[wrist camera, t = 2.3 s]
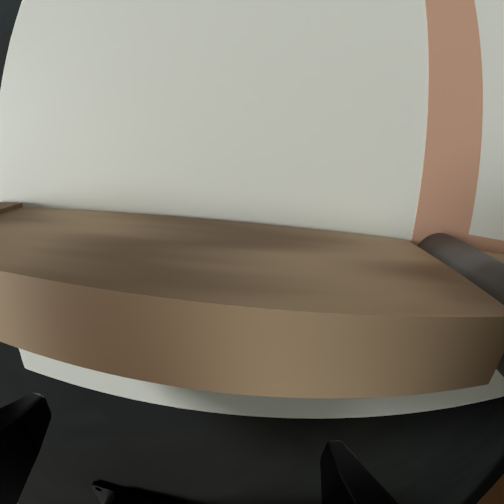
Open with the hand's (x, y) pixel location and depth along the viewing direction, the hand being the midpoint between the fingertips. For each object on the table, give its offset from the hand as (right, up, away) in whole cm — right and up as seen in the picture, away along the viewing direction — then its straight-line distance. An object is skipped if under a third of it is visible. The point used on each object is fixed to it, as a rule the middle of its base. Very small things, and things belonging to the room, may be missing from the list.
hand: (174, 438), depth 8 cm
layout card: (+7, +10, +1) cm, 12 cm away
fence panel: (0, +6, +1) cm, 6 cm away
